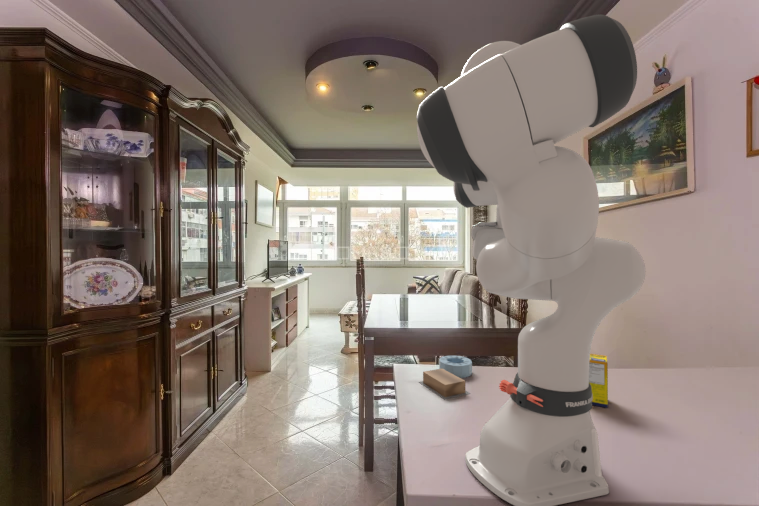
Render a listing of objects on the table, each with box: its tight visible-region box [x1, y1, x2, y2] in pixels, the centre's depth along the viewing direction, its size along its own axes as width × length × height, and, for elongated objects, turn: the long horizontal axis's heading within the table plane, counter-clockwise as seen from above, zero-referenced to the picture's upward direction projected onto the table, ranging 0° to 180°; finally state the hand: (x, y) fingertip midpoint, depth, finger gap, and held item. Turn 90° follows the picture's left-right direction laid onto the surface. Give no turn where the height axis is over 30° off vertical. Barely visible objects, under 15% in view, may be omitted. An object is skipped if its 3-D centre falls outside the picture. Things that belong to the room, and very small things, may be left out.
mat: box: [418, 380, 471, 400], centre depth 88 cm, size 8×12×1 cm, turn 25°
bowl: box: [438, 355, 473, 379], centre depth 100 cm, size 9×9×4 cm
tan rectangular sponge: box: [422, 368, 466, 397], centre depth 88 cm, size 6×10×3 cm, turn 25°
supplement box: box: [589, 353, 609, 409], centre depth 83 cm, size 6×6×11 cm
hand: (515, 278), depth 82 cm, fingers open, 8 cm apart
